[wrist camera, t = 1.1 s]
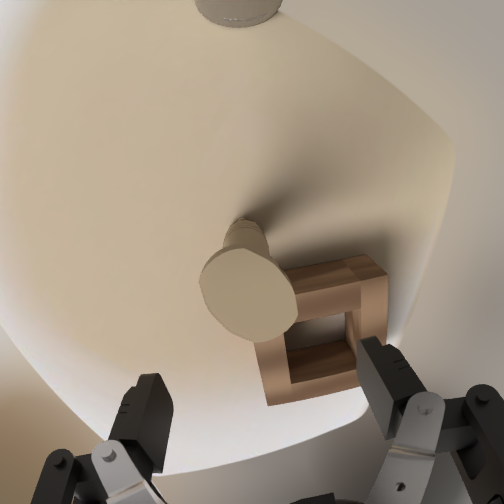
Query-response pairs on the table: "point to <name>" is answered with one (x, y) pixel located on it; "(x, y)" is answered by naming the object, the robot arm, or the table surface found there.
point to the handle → (248, 286)
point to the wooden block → (320, 305)
